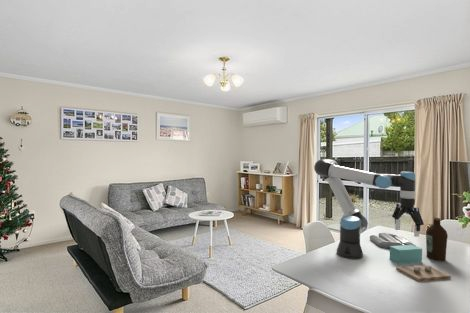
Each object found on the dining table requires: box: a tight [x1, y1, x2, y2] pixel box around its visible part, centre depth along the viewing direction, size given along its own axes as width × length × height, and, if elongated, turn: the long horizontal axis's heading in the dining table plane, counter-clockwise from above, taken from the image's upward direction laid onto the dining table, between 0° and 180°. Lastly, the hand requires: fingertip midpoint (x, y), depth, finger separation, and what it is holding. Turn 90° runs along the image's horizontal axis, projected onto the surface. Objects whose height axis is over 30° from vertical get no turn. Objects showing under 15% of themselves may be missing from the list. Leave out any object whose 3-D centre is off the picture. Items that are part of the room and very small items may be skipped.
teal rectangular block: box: [389, 244, 423, 265], centre depth 161 cm, size 16×7×8 cm, turn 102°
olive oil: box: [425, 217, 449, 262], centre depth 165 cm, size 11×11×25 cm
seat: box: [395, 264, 452, 282], centre depth 143 cm, size 20×14×4 cm
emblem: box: [369, 232, 418, 250], centre depth 190 cm, size 28×5×28 cm
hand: (406, 233), depth 161 cm, fingers open, 13 cm apart
